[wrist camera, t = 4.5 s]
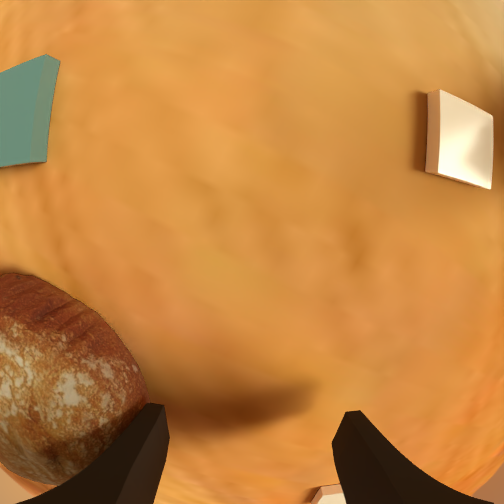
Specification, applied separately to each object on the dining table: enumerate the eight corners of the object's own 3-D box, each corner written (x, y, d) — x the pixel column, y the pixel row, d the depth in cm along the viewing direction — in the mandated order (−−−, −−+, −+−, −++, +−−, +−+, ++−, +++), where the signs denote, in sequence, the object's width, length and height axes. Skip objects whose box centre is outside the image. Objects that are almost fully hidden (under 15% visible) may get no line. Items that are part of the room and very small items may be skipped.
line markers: (346, 499, 15) (348, 508, 14) (83, 476, 14) (79, 484, 13) (480, 106, 8) (495, 104, 7) (-2, 83, 7) (-16, 80, 6)
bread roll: (98, 399, 15) (112, 508, 9) (-36, 340, 9) (-60, 455, 3) (174, 309, 14) (218, 468, 7) (-14, 205, 7) (-114, 357, 1)
